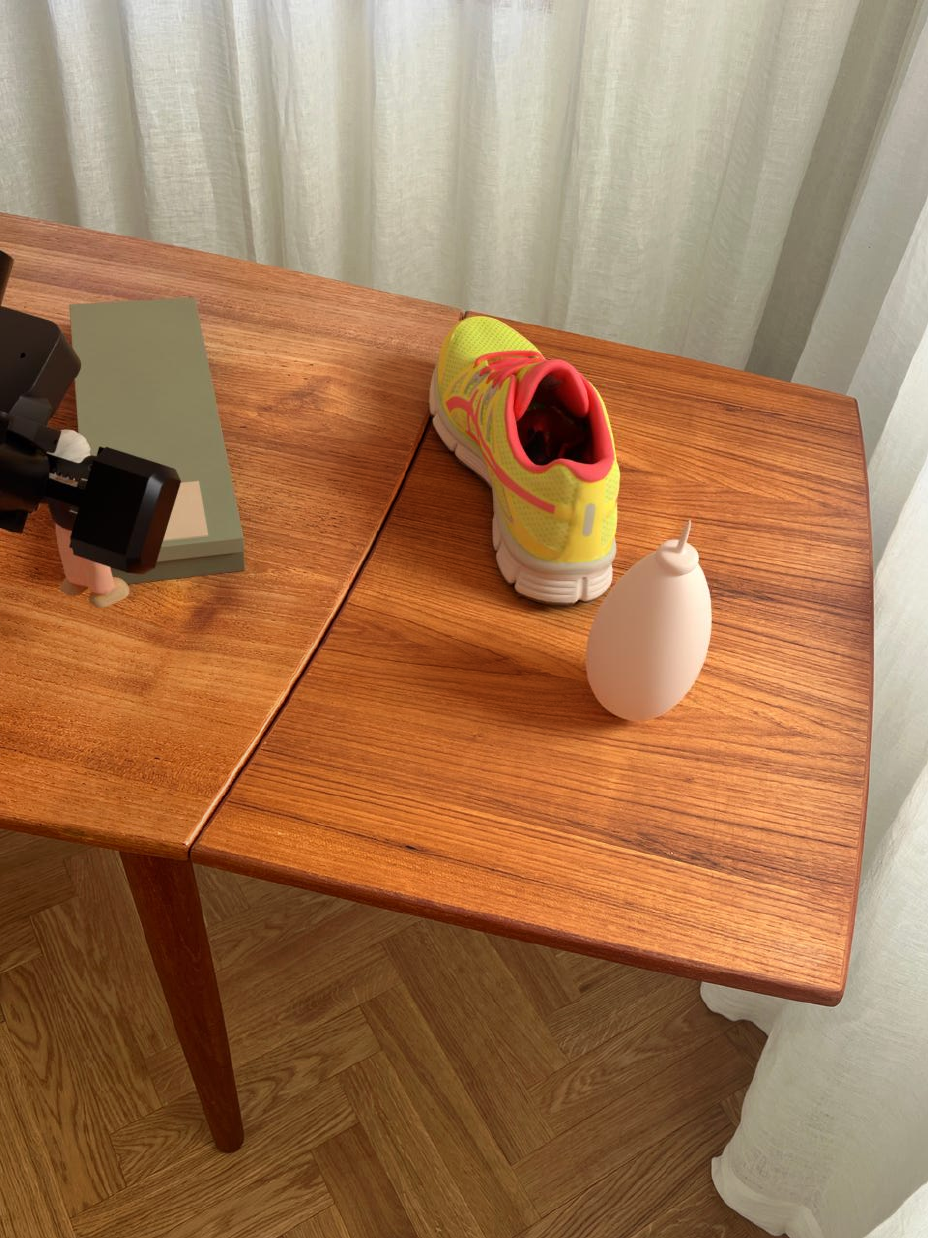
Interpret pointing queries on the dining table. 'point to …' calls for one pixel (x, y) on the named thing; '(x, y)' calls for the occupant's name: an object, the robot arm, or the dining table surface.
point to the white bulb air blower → (651, 633)
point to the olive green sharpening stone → (161, 422)
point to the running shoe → (532, 458)
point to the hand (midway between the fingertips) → (84, 491)
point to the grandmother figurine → (75, 568)
